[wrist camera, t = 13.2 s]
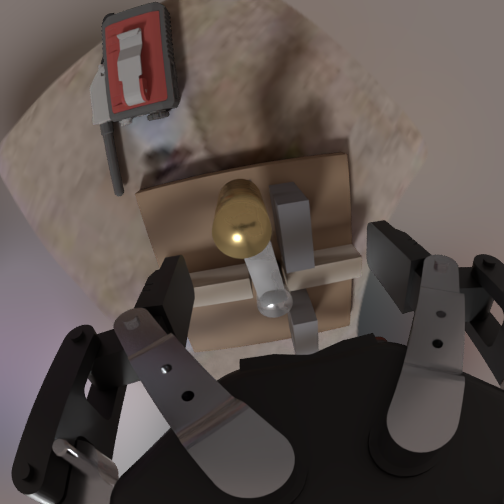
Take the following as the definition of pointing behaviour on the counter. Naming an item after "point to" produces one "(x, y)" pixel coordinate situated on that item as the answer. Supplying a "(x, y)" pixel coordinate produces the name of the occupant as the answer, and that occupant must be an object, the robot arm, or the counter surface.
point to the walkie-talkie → (133, 74)
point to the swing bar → (251, 243)
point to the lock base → (283, 243)
